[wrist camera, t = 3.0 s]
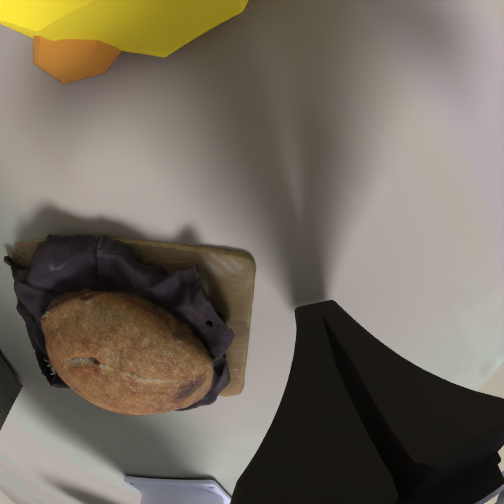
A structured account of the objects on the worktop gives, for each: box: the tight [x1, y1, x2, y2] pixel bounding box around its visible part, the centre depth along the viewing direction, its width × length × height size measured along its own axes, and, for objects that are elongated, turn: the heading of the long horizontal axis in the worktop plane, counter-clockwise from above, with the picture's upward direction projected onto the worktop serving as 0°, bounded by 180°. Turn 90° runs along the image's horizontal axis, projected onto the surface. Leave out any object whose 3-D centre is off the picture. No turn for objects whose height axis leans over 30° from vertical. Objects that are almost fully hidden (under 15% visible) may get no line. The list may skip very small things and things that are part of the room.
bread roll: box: [4, 234, 256, 415], centre depth 10 cm, size 11×8×4 cm
